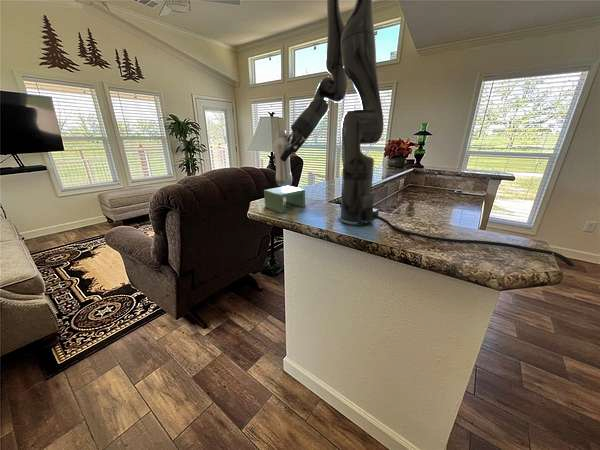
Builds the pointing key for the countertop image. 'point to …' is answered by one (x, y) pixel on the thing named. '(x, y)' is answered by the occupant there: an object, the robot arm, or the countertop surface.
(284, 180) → the plastic bottle
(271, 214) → the countertop surface
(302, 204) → the mint green box
